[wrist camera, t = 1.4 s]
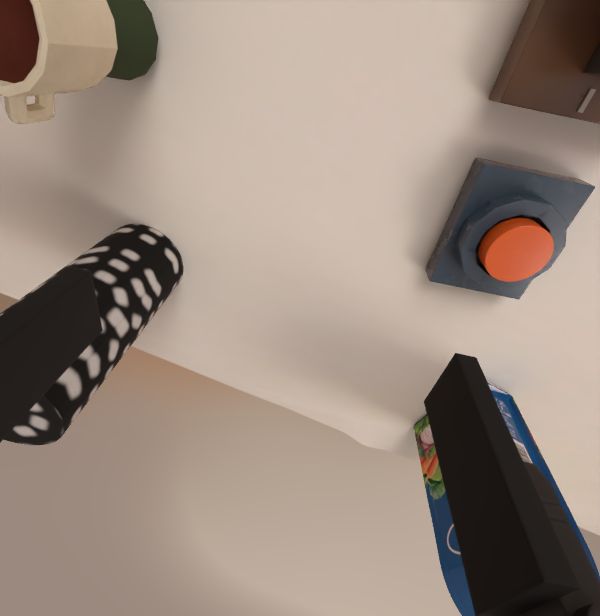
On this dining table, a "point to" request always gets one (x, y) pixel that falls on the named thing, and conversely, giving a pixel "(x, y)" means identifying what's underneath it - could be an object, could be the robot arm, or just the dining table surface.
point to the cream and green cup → (69, 49)
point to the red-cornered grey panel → (594, 63)
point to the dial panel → (553, 60)
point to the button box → (495, 209)
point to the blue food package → (440, 506)
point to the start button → (515, 249)
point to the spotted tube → (106, 322)
